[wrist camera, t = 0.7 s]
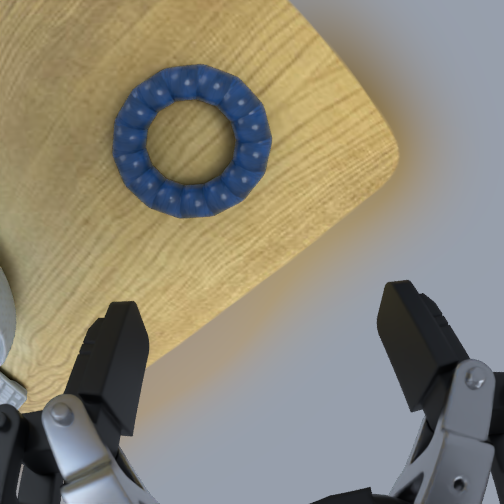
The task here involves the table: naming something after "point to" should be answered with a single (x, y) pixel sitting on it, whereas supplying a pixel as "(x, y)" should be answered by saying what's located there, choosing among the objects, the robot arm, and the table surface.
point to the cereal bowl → (6, 318)
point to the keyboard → (11, 392)
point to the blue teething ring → (209, 91)
